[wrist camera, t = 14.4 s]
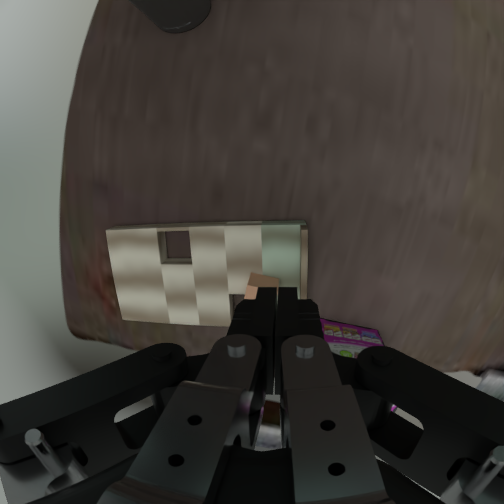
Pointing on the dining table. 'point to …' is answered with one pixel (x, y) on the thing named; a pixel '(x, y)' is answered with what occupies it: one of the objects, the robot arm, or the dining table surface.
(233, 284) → the checkered shape sorter board
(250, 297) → the block
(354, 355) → the candy bar box
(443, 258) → the dining table surface
